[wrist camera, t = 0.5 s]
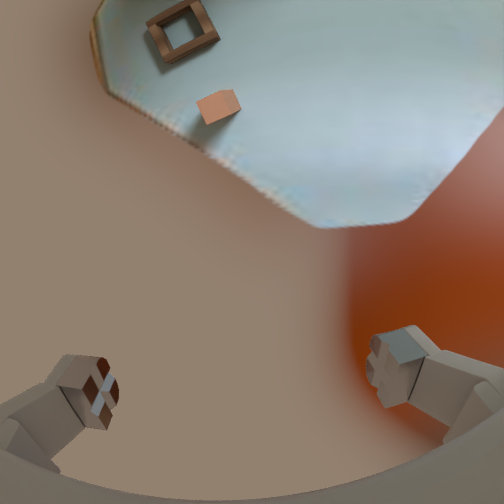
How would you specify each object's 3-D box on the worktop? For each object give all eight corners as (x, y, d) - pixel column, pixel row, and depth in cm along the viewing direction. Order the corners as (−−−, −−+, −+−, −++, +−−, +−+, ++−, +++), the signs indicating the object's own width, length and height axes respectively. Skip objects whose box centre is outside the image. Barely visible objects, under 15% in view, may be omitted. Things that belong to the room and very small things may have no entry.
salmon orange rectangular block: (212, 98, 44) (195, 101, 36) (232, 89, 43) (220, 90, 35) (221, 117, 46) (206, 124, 38) (241, 108, 45) (231, 114, 37)
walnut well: (152, 24, 36) (145, 22, 33) (199, -1, 33) (194, -5, 30) (171, 63, 40) (165, 63, 38) (220, 39, 37) (216, 36, 35)
